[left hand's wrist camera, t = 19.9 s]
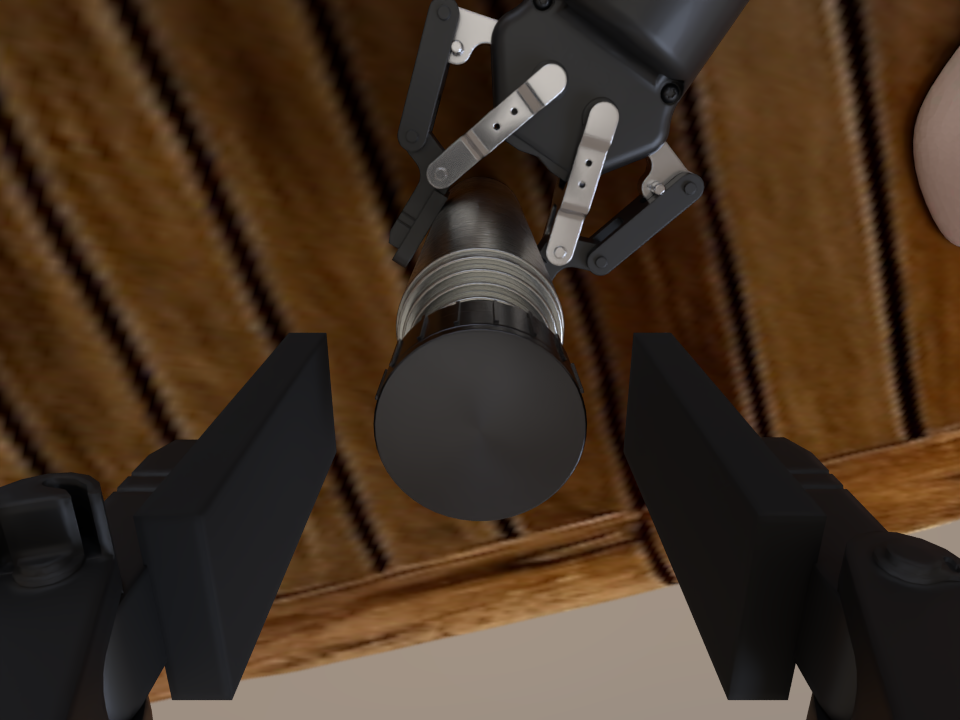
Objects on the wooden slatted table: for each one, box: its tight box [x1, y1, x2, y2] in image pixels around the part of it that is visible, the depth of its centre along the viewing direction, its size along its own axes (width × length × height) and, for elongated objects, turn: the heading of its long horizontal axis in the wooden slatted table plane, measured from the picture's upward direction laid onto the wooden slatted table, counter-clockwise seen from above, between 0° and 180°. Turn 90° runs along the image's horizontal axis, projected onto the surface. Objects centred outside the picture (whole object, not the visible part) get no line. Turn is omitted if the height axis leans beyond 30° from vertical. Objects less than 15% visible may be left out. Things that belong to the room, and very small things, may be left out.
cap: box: [374, 300, 587, 521], centre depth 13 cm, size 4×4×2 cm
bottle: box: [396, 177, 564, 346], centre depth 24 cm, size 4×4×24 cm
